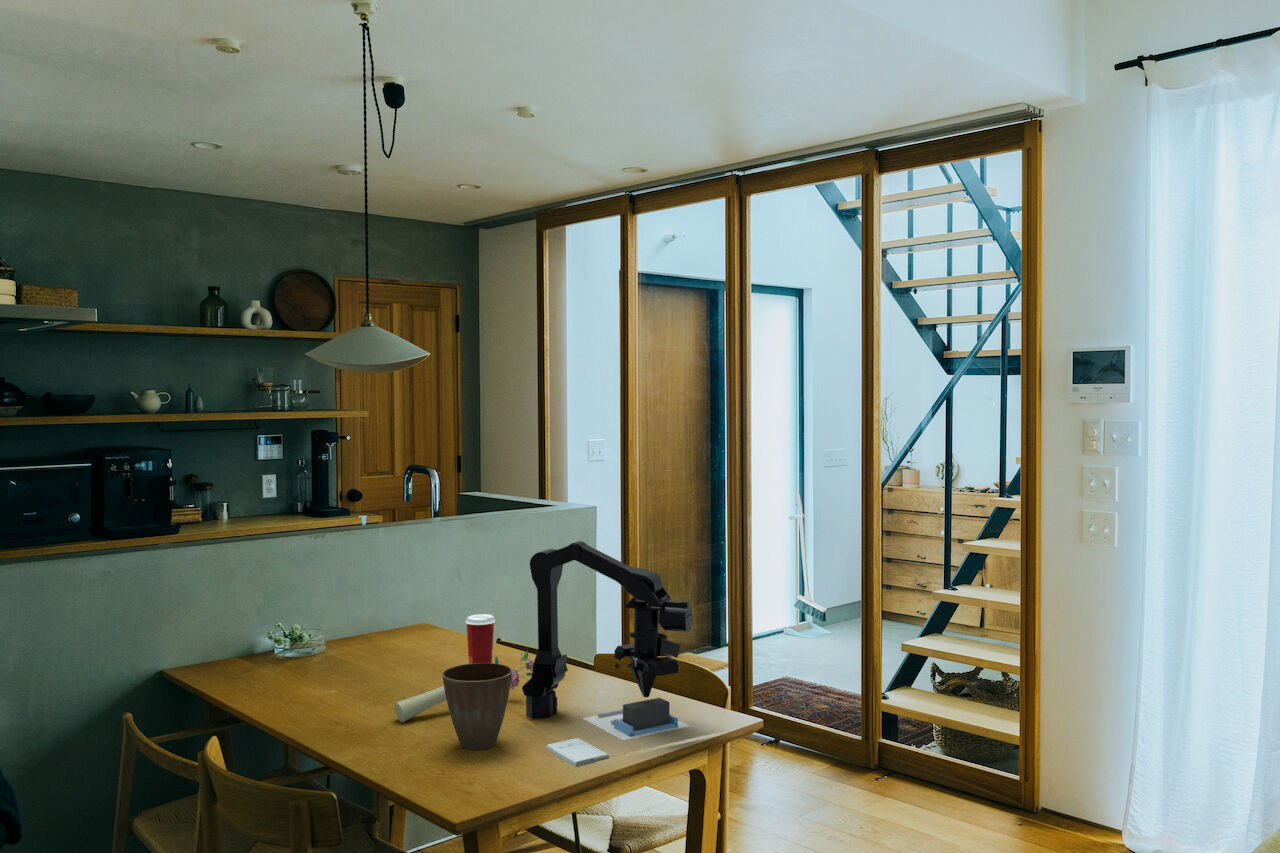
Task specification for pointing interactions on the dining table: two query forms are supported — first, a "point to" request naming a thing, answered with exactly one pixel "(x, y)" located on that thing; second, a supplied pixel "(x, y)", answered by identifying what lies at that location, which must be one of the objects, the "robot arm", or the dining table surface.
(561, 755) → the external hard drive
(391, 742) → the dining table surface
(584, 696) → the dining table surface
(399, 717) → the flower vase
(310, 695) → the dining table surface
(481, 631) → the coffee cup
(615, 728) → the board
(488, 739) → the plant pot
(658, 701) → the dark gray block
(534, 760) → the dining table surface
